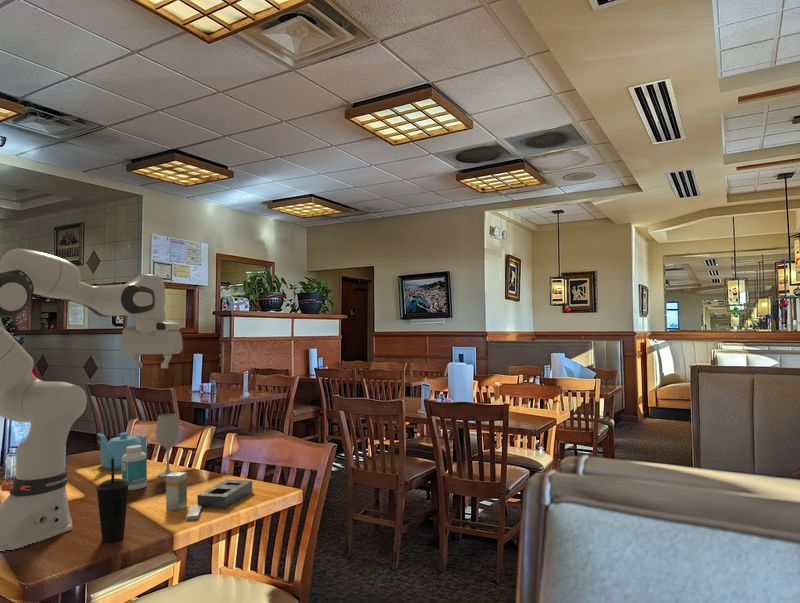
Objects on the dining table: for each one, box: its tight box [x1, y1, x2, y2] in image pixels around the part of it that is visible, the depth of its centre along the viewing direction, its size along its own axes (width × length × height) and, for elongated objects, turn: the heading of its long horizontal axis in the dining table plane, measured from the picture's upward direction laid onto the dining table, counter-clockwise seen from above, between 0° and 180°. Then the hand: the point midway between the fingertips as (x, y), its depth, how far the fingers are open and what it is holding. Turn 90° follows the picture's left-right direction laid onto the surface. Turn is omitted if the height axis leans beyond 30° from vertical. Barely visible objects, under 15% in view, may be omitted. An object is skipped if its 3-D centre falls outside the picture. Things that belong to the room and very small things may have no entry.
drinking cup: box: [95, 459, 130, 544], centre depth 140 cm, size 8×8×20 cm
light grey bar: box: [185, 503, 203, 522], centre depth 157 cm, size 10×3×2 cm, turn 13°
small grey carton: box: [165, 471, 188, 512], centre depth 162 cm, size 4×4×10 cm
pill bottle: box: [121, 445, 148, 491], centre depth 183 cm, size 8×7×14 cm
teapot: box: [97, 432, 150, 471], centre depth 213 cm, size 17×19×12 cm
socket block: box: [197, 479, 253, 510], centre depth 169 cm, size 16×9×4 cm, turn 167°
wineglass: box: [155, 413, 180, 478], centre depth 199 cm, size 8×8×21 cm
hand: (151, 368), depth 178 cm, fingers open, 8 cm apart
